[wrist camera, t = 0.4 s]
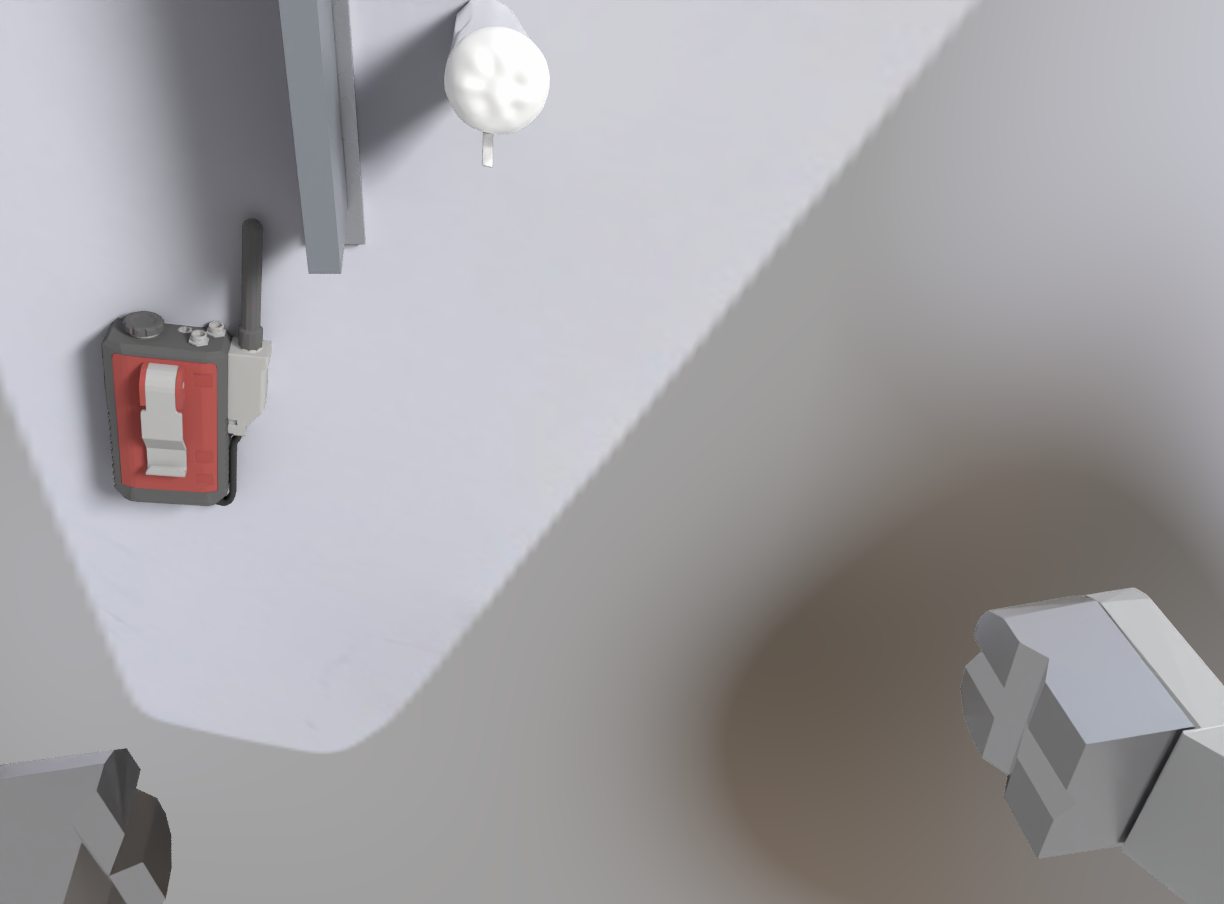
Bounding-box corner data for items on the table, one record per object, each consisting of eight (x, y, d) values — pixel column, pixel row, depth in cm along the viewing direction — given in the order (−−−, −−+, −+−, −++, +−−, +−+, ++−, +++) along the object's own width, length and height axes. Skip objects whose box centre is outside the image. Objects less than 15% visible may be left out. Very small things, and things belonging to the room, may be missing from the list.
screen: (273, -247, 40) (252, -236, 34) (311, -243, 40) (296, -231, 35) (319, 212, 52) (308, 273, 47) (348, 212, 52) (341, 273, 47)
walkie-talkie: (267, 492, 64) (276, 212, 53) (259, 537, 61) (267, 248, 50) (122, 482, 62) (99, 186, 51) (105, 528, 59) (76, 223, 47)
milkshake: (430, 82, 50) (434, 156, 42) (448, -29, 47) (455, 28, 39) (518, 101, 51) (537, 176, 43) (540, -6, 48) (565, 54, 40)
